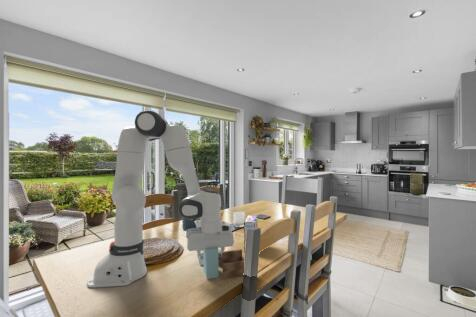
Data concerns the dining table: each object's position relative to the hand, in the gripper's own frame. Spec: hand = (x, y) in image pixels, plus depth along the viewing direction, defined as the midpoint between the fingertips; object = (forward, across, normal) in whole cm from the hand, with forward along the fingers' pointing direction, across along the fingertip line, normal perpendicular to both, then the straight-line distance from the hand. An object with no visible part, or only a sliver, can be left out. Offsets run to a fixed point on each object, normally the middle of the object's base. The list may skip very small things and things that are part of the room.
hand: (210, 257), depth 105 cm
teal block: (+7, 0, 0) cm, 7 cm away
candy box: (+7, +26, +21) cm, 34 cm away
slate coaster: (+7, +1, +14) cm, 16 cm away
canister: (+7, -2, +66) cm, 66 cm away
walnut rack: (+7, +10, 0) cm, 12 cm away
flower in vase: (+7, -2, +33) cm, 34 cm away
